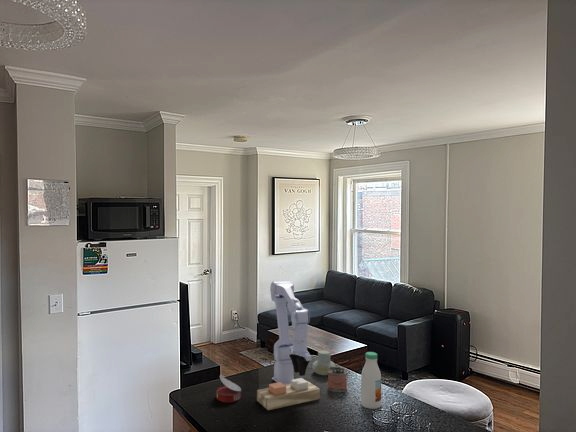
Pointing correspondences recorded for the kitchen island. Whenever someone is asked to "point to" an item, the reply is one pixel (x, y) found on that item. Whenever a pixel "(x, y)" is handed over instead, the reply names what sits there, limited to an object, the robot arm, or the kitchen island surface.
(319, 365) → the pale green jug
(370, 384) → the milk bottle
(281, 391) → the terracotta button
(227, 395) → the canned food
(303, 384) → the grey button
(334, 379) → the lighter
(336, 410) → the kitchen island surface
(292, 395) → the button panel
